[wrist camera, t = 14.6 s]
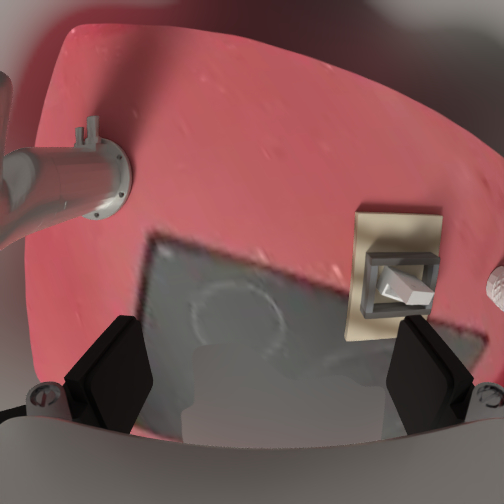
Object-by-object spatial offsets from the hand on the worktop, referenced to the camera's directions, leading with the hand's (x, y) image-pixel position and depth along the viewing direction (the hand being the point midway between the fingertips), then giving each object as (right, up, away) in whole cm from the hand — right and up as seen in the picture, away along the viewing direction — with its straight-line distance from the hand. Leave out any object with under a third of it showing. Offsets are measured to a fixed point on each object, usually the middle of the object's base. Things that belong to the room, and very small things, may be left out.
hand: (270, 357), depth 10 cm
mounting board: (+21, 0, +34) cm, 40 cm away
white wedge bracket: (+21, -1, +32) cm, 38 cm away
